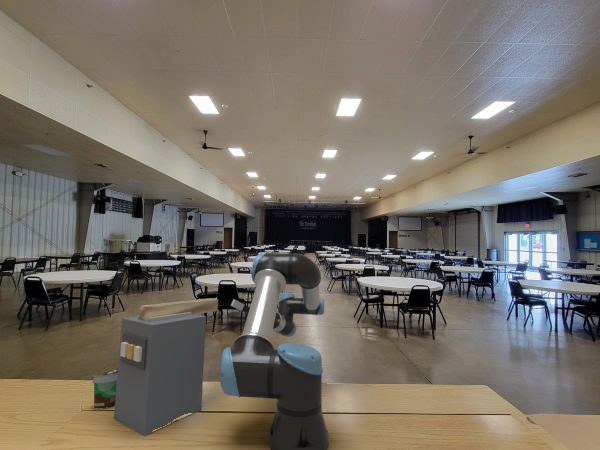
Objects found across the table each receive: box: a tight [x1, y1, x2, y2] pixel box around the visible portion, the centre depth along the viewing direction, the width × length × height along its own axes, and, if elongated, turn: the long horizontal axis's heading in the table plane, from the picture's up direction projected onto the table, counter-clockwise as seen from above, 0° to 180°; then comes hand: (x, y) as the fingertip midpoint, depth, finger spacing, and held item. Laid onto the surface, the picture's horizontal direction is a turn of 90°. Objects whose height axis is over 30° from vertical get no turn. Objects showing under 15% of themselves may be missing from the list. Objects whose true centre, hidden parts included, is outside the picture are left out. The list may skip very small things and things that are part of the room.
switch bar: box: [139, 297, 219, 321], centre depth 102 cm, size 4×26×4 cm, turn 146°
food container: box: [92, 368, 118, 409], centre depth 100 cm, size 12×6×10 cm, turn 168°
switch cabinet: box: [113, 312, 207, 437], centre depth 94 cm, size 16×19×29 cm
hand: (245, 305), depth 123 cm, fingers open, 13 cm apart
